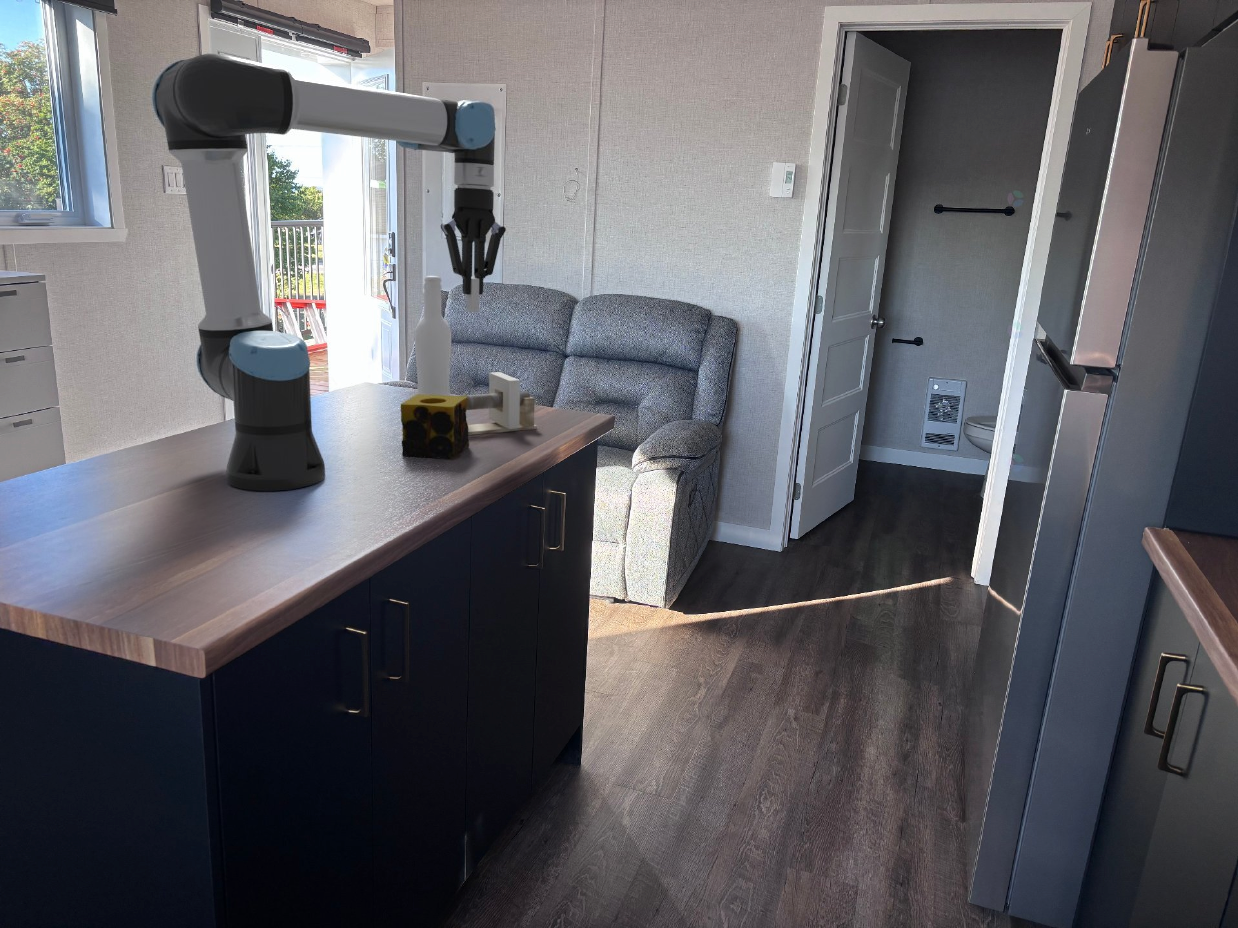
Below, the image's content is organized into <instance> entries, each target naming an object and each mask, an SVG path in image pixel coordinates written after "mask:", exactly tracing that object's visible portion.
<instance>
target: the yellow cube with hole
mask: <svg viewBox="0 0 1238 928" xmlns="http://www.w3.org/2000/svg"><path fill="white" fill-rule="evenodd" d="M416 394H417V393H416ZM416 394H414V396H411V397H410V398H408V399H406V400H405V401H403V402H401V403H400V422H401V425H402V429H401V430H402V434H401V435H402V439H401V446H402V447H401V448H402V453H401V456H404V457H409V458H410V457H412V458H413V457H414V458H427V459H441V460H453V459H454V460H455V459H456V458H457V457H459V456H460V455H461V454H463V453H464V451H465V450H466V449H468V448H469V446H470V443H469V442H470V440H469V436H470V435H468V425H469V424H468V422H467V411H468V410H467V401H468V397H467V396H464V395H451V396H445V395H424V394H417V395H416Z"/></svg>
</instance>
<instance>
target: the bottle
mask: <svg viewBox="0 0 1238 928" xmlns="http://www.w3.org/2000/svg"><path fill="white" fill-rule="evenodd" d="M441 282H442V278H441V277H440V276H437V275H426V276H425V277H424V283H423V287H422V288H423V290H424V291H423V300H424V301H423V316H422V318H421V319H419V321H418V323H417V325H416V326H415V329H414V334H413V335H414V337H413V338H414V350H415V361H416V362H415V363H416V364H415V365H416V376H417V390H416V394H415V395H417V394H424V395H445V396H452V394H451V391H450V375H451V373H450V372H451V356H452V353H451V352H452V332H451V331H452V330H451V327H450V325H449V323H448V321H446V319H445V318H444V317H443V313H442V284H441Z"/></svg>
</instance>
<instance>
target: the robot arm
mask: <svg viewBox="0 0 1238 928" xmlns="http://www.w3.org/2000/svg"><path fill="white" fill-rule="evenodd" d="M151 100H152V106H153V111H154V113H155V115H156V117H157V120H158V121H159V123H160V124H161V125H162V127H163V128H164V132H165V137H166V142H167V149H168V153H169V154H170V155H171V156H173V157H174V158H175V159H176V160H178V162H179V163H180V164H181V170H182V175H183V182H184V187H185V193H186V200H187V206H188V212H189V219H190V225H191V230H192V237H193V243H194V247H195V255H196V262H197V268H198V273H199V278H200V280H199V281H200V285H201V291H202V298H203V305H204V310H205V315H204V316H203V318H201V319H202V320H201V321H200V322H199V323H198V324H197V330H198V334H199V340H200V341H199V342H200V344H199V346H198V349H197V352H196V368H197V370H198V373H199V375H200V377H201V378H202V380H203V382H204V383H205V384H206V385H207V386H208V388H209V389H211V390H212V392H214V393H215V394H218V395H219V396H220V397H222V398H224V399H227V400H230V401H232V403H233V415H234V426H235V436H234V439H233V443H232V446H231V449H230V450H231V451H230V454H229V457H228V461H227V465H226V471H225V472H226V482H227V484H228V485H229V486H232V487H234V488H236V489H237V488H238V489H242V490H245V491H247V490H248V491H259V492H273V491H274V492H275V491H276V492H277V491H287V490H296V489H301V488H305V487H309V486H313V485H314V484H317V483H320V482H322V481H323V480H324V479H325V477H326V468H325V467H326V465H325V461H324V459H323V456H322V453H321V451H320V448H319V446H318V443H317V441H316V438H315V435H314V433H313V428H312V427H313V424H312V402H311V401H312V400H311V399H312V398H311V375H310V371H311V370H310V369H311V368H310V366H311V359H310V356H309V351H308V350H309V349H308V345H307V344H306V342H305V341H304V340H303V339H302V338H301V337H299V336H297V335H295V334H291V333H285V332H284V333H283V332H281V331H274V327H273V320H272V318H270V317H269V316H268V315H266V313H264V312H263V311H262V309H261V302H260V296H259V289H258V282H257V275H256V274H257V273H256V267H255V261H254V255H253V254H254V253H253V246H252V241H251V235H250V232H251V231H250V227H249V219H248V213H247V211H248V210H247V206H246V199H245V191H244V186H243V185H244V183H243V177H242V170H241V165H240V162H241V160H242V159H243V158H244V157H245V155H246V154H247V152H248V151H249V150H248V143H247V135H251V134H272V135H273V134H274V135H281V136H284V135H287V134H288V133H289V132H290V130H298V131H299V130H300V131H307V132H315V133H316V132H317V133H322V134H323V133H325V134H333V135H341V136H351V137H360V138H370V139H377V140H385V141H386V140H387V141H395V142H396V143H397V144H398V145H399V146H400V147H401V148H404V149H410V150H413V151H417V150H418V151H427V152H428V151H429V152H440V153H449V154H450V153H451V154H454V158H453V159H454V160H453V161H454V171H453V172H454V174H453V175H454V176H453V177H454V178H453V183H454V185H455V186H457V187H455V189H454V191H453V193H454V194H453V200H454V202H453V207H454V209H453V210H454V211H453V214H452V216H451V219H450V220H448V221H447V222H446V223H445V222H444V223H441V224H440V229H441V231H442V233H443V234H444V235H445V240H446V244H447V248H448V249H447V250H448V253H449V254H448V255H449V257H450V262H451V267H452V271H453V273H454V274H456V275H458V276H461V278H462V294H463V295H466V311H467V312H471V313H479V312H480V308H479V307H480V295H483V293H484V280H485V278H486V277H488V276H491V275H493V274H494V269H495V265H496V261H497V257H498V253H499V248H500V243H501V241H502V240H501V239H502V238H503V236H504V234H505V233H506V230H507V229H506V227H505V226H504V225H501V224H499V223H498V222H497V221H496V217H495V216H494V215H495V214H494V204H495V203H494V199H495V198H494V194H495V193H494V191H493V189H491V188H492V187H494V185H495V183H494V182H495V139H496V131H497V130H496V116H495V109H494V106H493V105H492V104H490V103H489V102H484V101H476V100H459V101H453V100H448V99H439V98H435V97H429V96H422V95H414V94H411V93H410V94H409V93H403V92H396V91H390V90H386V89H385V90H384V89H376V88H371V87H366V86H365V87H364V86H359V85H352V84H346V83H345V84H344V83H339V82H332V81H326V80H320V79H313V78H306V77H300V76H296V75H295V76H294V75H292V73H291V72H290V71H289V70H288V69H287V68H286V67H283V66H277V65H273V64H268V63H267V64H266V63H261V62H257V61H254V60H248V59H245V58H244V59H243V58H240V57H235V56H232V55H227V54H221V53H205V54H200V55H196V56H194V57H191V58H186V59H180V60H177V61H175V62H173V63H171V64H170V65H168V66H167V67H165V69H164V70H163V71H162V72H161V73H160V74H159V75H158V77H157V78H156V81H155V82H154V85H153V89H152V95H151ZM456 229H457V230H458V232H459V233H460V235H461V236H460V238H461V239H460V241H461V252H460V248H459V244H458V238H457V233H456V231H457V230H456ZM489 231H490V232H491V235H490V237H489V241H488V245H487V249H486V250H485V248H486V245H485V244H486V242H487V235H488V233H489ZM473 243H474V245H473ZM473 247H474V248H473ZM473 250H474V251H473ZM485 251H486V252H485ZM485 253H486V254H485ZM473 276H474V277H473Z"/></svg>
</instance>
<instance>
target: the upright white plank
mask: <svg viewBox="0 0 1238 928" xmlns="http://www.w3.org/2000/svg"><path fill="white" fill-rule="evenodd" d="M488 377H489V378H488V394H494V393H499V392H503V408H501V409H500V408H488V419H489V420H490V421H492V422H493V423H498V424H500V425H502V426H504V427H506V428H507V429H515V428H519V413H520V392H521V380H520V379H518V378H517V377H516V378H515V377H514V376H510V375H508V374H506V373H503V372H501V371H498V372H497V371H496V372H489V373H488Z"/></svg>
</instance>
